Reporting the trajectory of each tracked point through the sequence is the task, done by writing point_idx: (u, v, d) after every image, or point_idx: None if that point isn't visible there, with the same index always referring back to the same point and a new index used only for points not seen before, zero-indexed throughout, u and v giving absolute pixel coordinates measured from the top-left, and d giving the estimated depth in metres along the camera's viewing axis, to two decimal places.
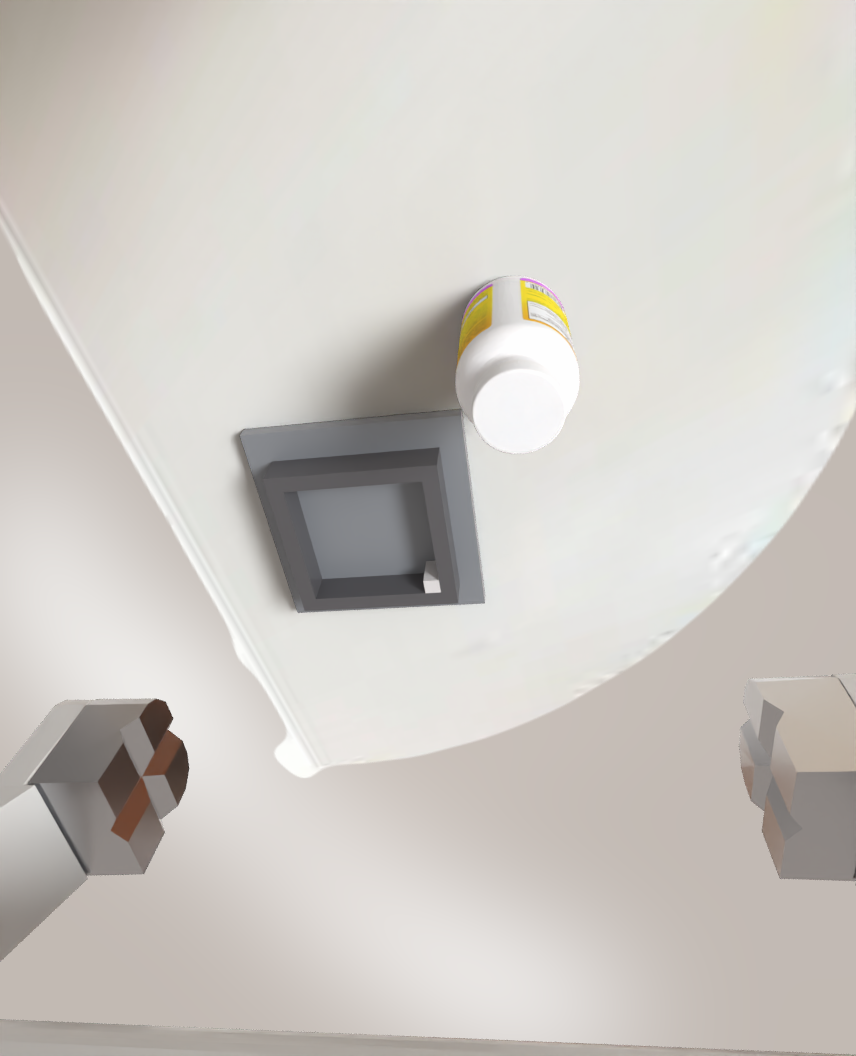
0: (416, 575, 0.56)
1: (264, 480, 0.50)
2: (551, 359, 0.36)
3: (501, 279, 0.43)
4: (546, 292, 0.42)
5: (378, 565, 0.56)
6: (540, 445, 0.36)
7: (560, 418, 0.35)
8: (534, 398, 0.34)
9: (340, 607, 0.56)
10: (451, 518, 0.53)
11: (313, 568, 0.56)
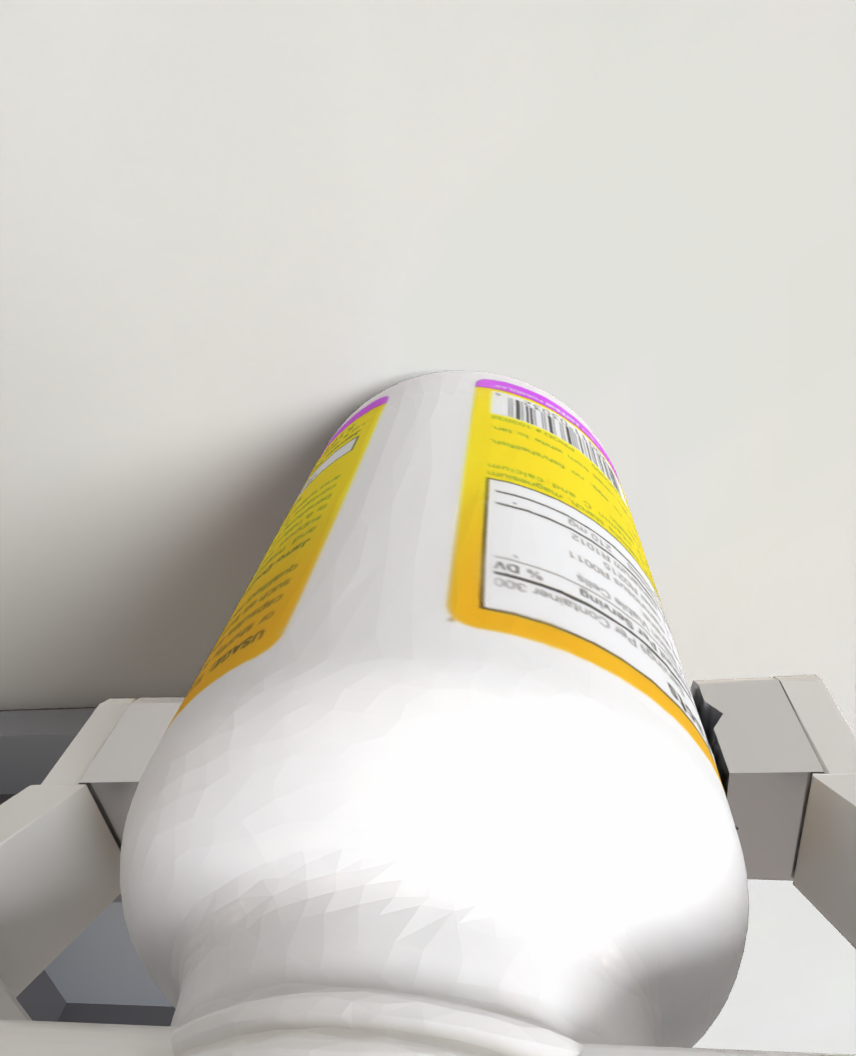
0: None
1: None
2: (614, 904, 0.06)
3: (418, 382, 0.13)
4: (563, 429, 0.12)
5: None
6: None
7: None
8: None
9: None
10: None
11: (27, 1007, 0.24)
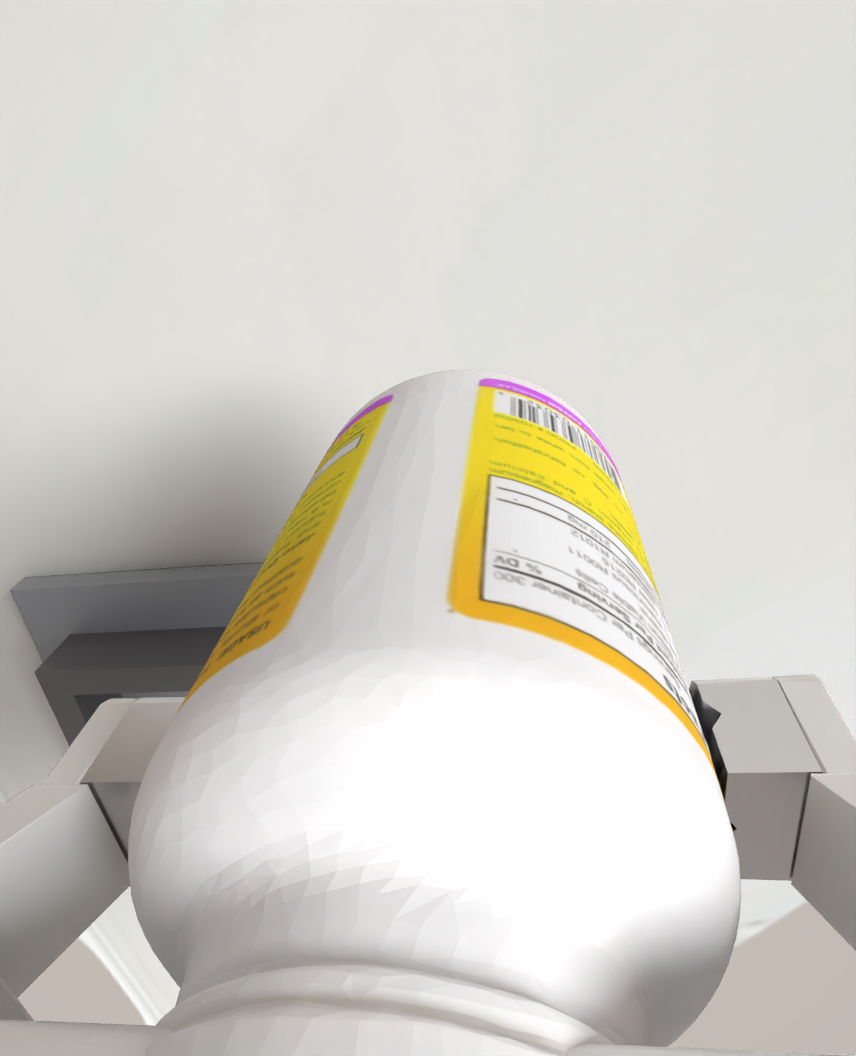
0: None
1: (38, 674, 0.27)
2: (606, 888, 0.06)
3: (422, 381, 0.13)
4: (565, 428, 0.12)
5: None
6: None
7: None
8: None
9: None
10: None
11: None
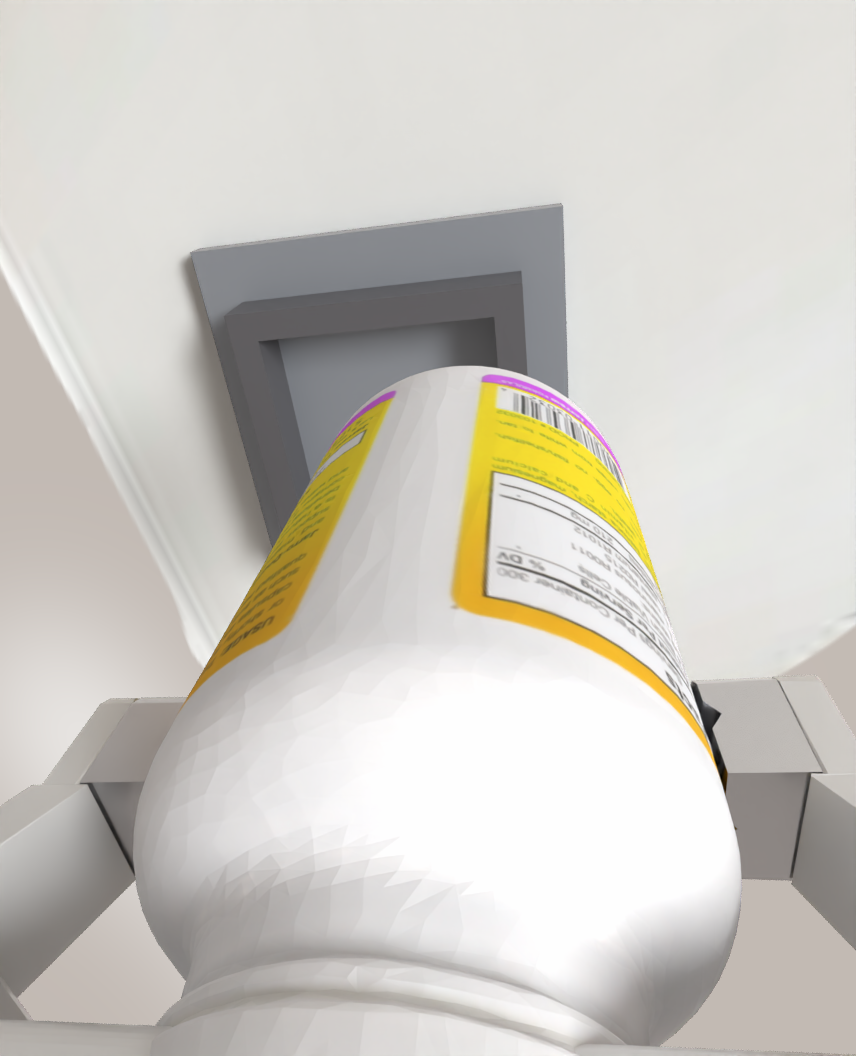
0: None
1: (226, 318, 0.29)
2: (609, 881, 0.06)
3: (425, 377, 0.13)
4: (568, 424, 0.12)
5: None
6: None
7: None
8: None
9: None
10: None
11: None
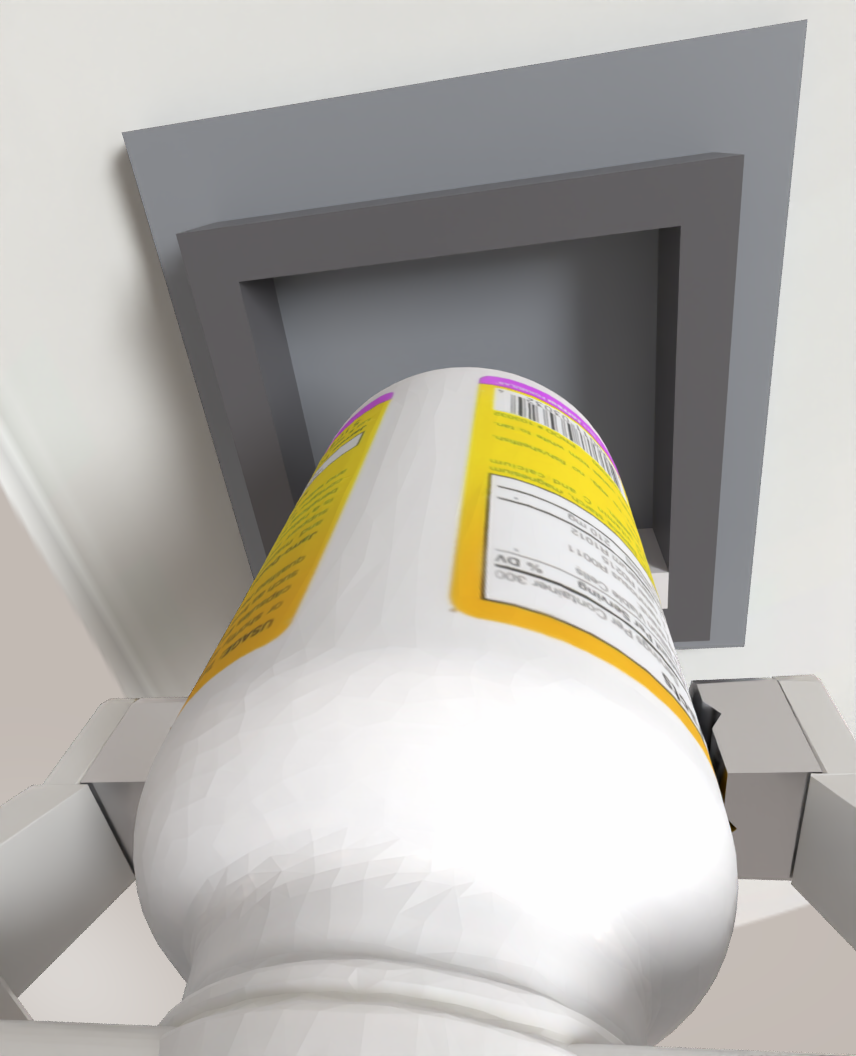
0: None
1: (181, 238, 0.16)
2: (605, 883, 0.06)
3: (422, 378, 0.14)
4: (565, 426, 0.12)
5: None
6: None
7: None
8: None
9: None
10: None
11: None
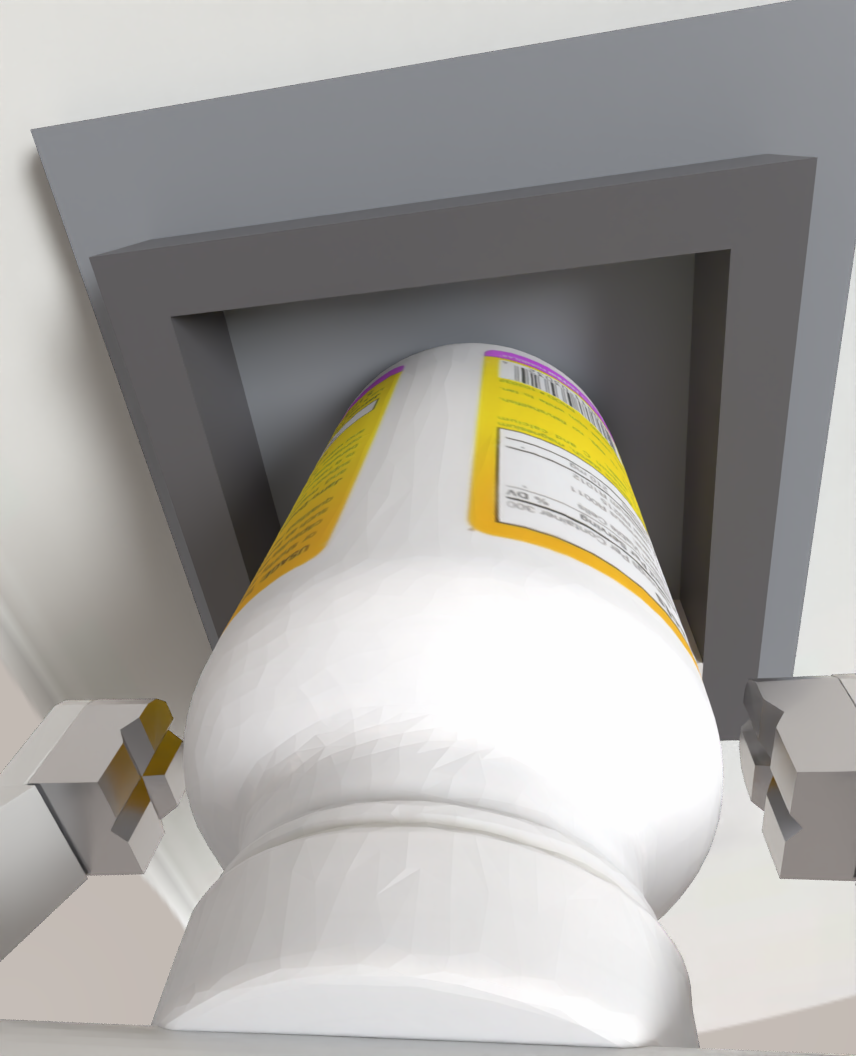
0: None
1: (96, 263, 0.13)
2: (607, 755, 0.07)
3: (431, 353, 0.14)
4: (565, 394, 0.13)
5: None
6: None
7: None
8: None
9: None
10: None
11: None
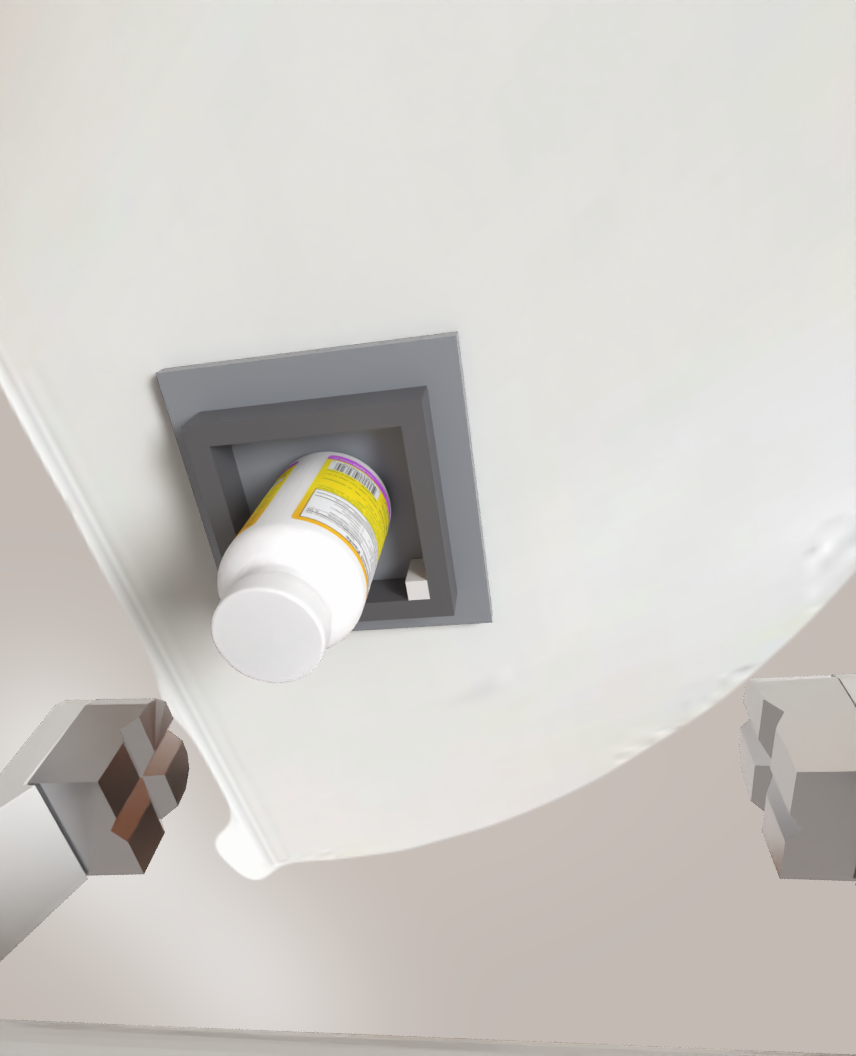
0: (397, 580, 0.41)
1: (183, 428, 0.36)
2: (317, 569, 0.29)
3: (309, 456, 0.37)
4: (355, 473, 0.36)
5: None
6: (300, 674, 0.29)
7: (318, 644, 0.28)
8: (282, 622, 0.28)
9: None
10: (444, 494, 0.39)
11: None
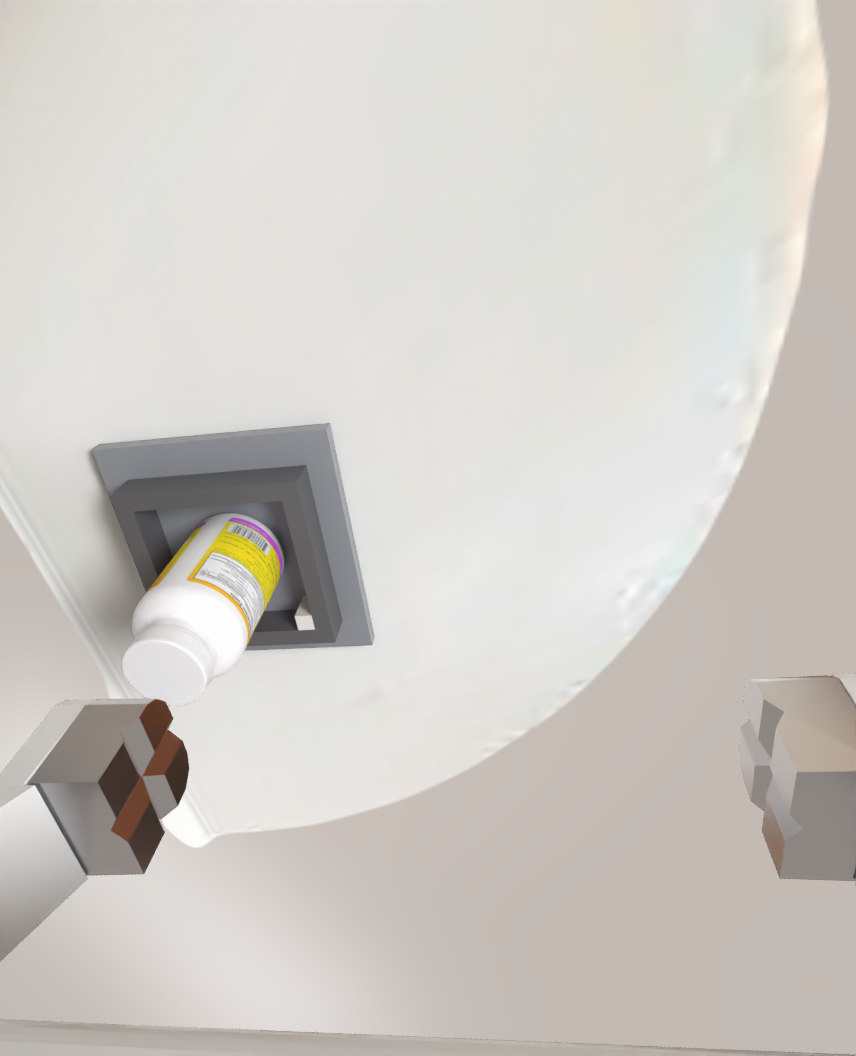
0: (294, 611, 0.51)
1: (112, 497, 0.45)
2: (204, 621, 0.39)
3: (215, 517, 0.47)
4: (249, 534, 0.45)
5: None
6: (190, 700, 0.39)
7: (201, 679, 0.38)
8: (174, 663, 0.37)
9: None
10: (326, 546, 0.48)
11: None
